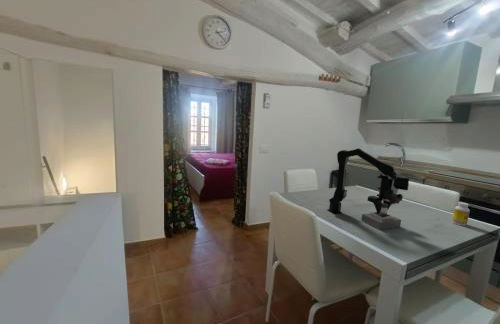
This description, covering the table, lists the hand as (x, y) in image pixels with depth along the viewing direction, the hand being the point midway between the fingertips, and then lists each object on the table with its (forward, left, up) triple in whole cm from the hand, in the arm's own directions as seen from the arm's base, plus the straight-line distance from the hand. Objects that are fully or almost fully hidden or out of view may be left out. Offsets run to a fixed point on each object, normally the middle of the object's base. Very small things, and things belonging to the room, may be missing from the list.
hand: (381, 213), depth 131 cm
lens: (0, 0, -2) cm, 2 cm away
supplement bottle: (+50, -12, -6) cm, 52 cm away
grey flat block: (0, 0, -6) cm, 6 cm away
